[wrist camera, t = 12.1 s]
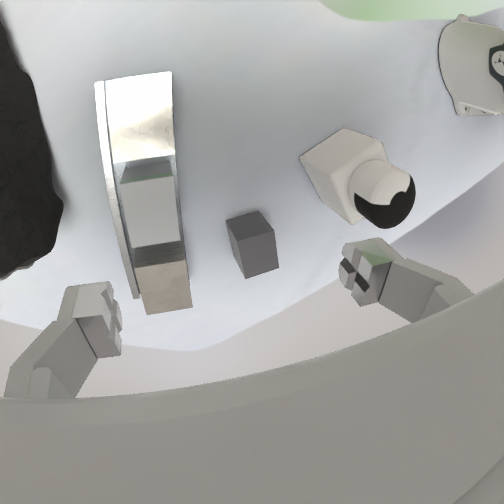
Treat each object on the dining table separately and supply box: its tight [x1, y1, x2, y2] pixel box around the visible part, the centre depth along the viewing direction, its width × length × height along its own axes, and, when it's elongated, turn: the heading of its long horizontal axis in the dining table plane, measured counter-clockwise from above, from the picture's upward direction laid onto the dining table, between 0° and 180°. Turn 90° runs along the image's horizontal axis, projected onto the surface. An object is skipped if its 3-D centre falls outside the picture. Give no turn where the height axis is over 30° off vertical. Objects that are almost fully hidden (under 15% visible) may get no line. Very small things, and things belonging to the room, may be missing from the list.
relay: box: [226, 211, 279, 279], centre depth 34 cm, size 4×5×5 cm
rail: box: [95, 72, 193, 315], centre depth 27 cm, size 7×24×6 cm, turn 179°
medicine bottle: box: [299, 128, 416, 229], centre depth 30 cm, size 7×7×12 cm
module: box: [119, 162, 180, 248], centre depth 26 cm, size 4×6×5 cm
